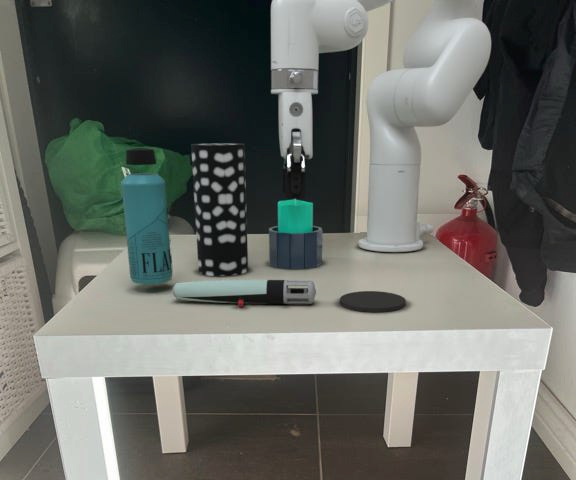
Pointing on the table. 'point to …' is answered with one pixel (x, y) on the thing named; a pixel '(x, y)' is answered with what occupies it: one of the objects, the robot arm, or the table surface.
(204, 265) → the spotted tube
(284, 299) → the flashlight
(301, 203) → the candle
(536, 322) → the table surface
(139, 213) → the beverage bottle
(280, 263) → the holder
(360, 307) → the coaster
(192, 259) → the table surface
